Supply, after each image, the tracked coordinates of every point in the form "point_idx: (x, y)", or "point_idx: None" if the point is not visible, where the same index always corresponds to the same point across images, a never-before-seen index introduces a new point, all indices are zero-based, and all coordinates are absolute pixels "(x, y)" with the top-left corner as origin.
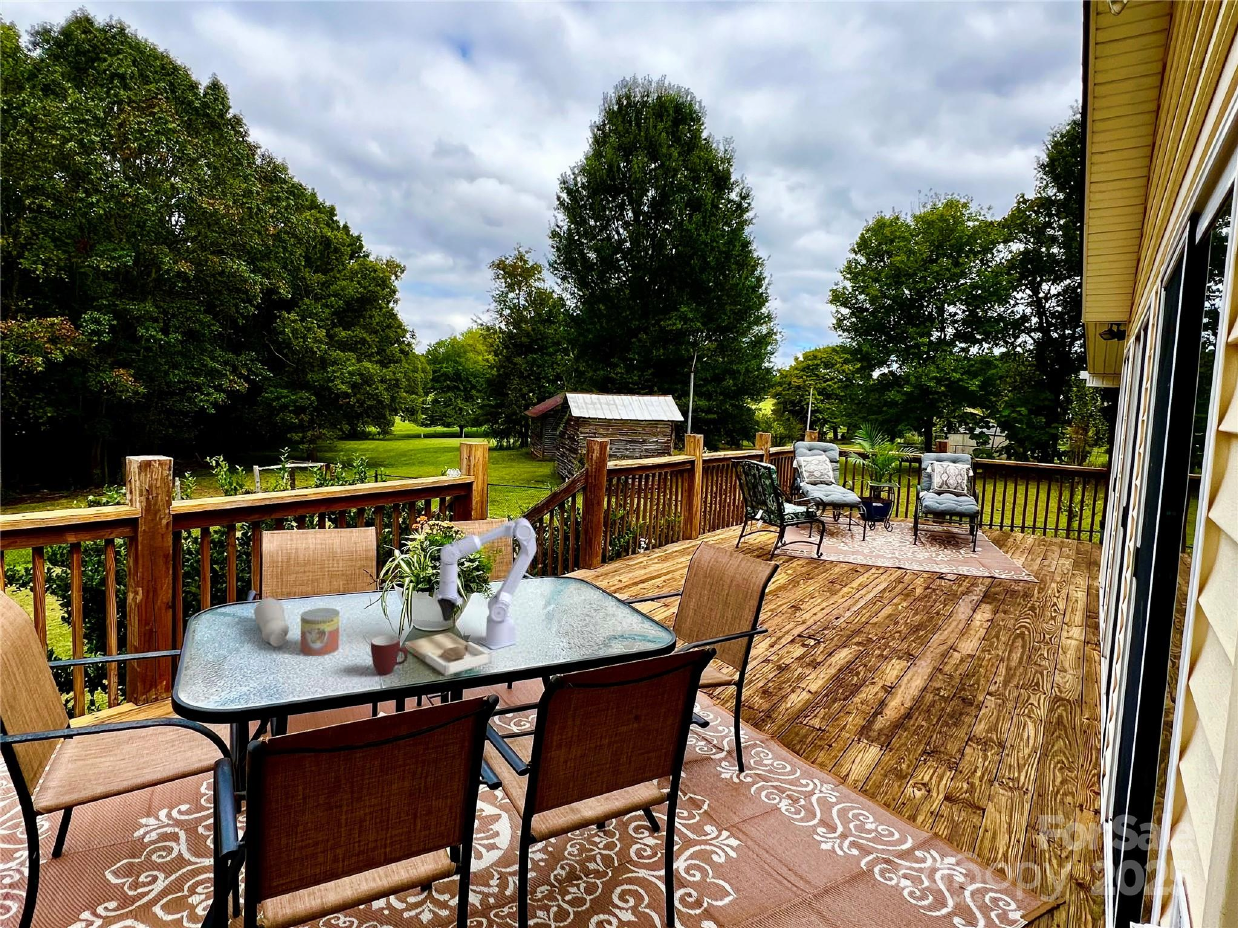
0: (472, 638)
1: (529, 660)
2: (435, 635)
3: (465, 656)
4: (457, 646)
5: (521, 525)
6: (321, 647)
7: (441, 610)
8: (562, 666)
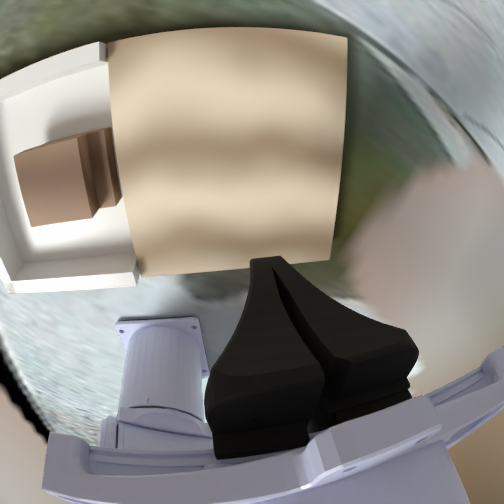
0: None
1: (30, 349)
2: (335, 195)
3: (80, 220)
4: (87, 212)
5: None
6: None
7: (318, 293)
8: (3, 370)
